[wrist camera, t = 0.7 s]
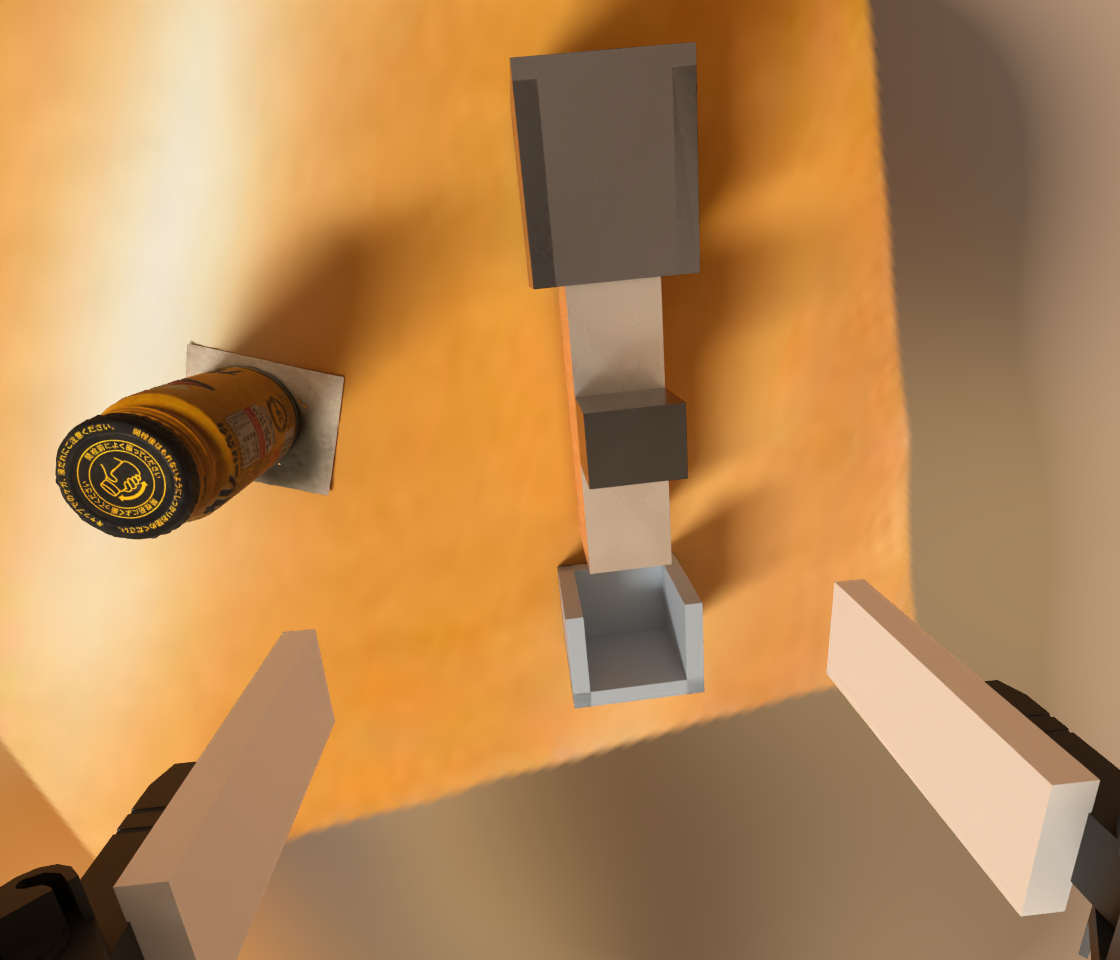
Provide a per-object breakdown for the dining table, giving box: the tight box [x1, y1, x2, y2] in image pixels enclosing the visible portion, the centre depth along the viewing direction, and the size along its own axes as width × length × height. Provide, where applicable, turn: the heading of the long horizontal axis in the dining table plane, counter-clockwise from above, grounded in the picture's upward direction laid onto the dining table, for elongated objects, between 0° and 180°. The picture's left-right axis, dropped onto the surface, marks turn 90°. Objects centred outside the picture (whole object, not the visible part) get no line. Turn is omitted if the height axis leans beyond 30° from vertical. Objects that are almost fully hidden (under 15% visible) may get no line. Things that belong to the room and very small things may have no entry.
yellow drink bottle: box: [56, 344, 344, 539], centre depth 30 cm, size 7×8×12 cm
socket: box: [557, 553, 704, 708], centre depth 38 cm, size 6×8×6 cm
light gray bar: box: [558, 277, 688, 574], centre depth 30 cm, size 22×4×9 cm, turn 5°
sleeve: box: [510, 42, 700, 289], centre depth 29 cm, size 9×8×7 cm
